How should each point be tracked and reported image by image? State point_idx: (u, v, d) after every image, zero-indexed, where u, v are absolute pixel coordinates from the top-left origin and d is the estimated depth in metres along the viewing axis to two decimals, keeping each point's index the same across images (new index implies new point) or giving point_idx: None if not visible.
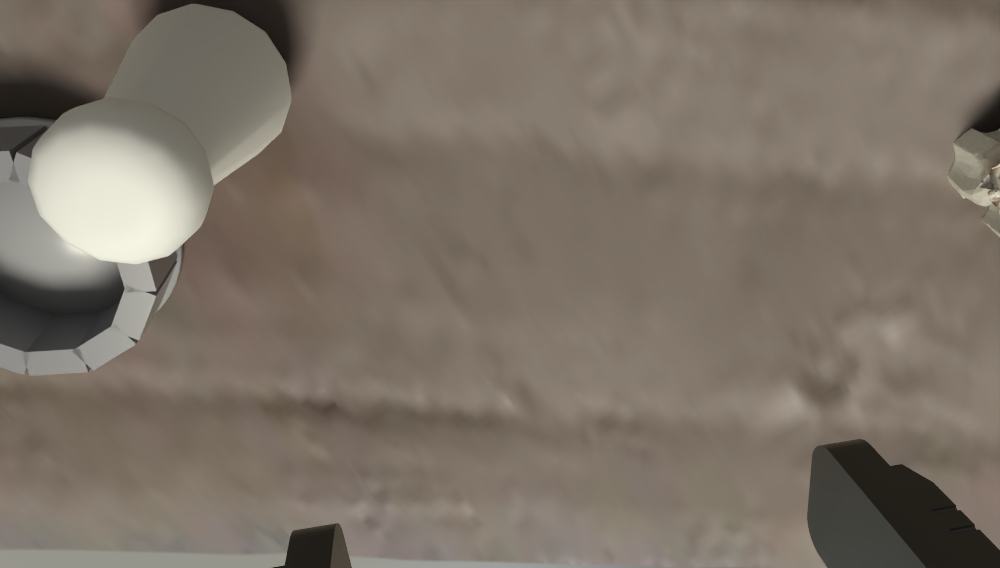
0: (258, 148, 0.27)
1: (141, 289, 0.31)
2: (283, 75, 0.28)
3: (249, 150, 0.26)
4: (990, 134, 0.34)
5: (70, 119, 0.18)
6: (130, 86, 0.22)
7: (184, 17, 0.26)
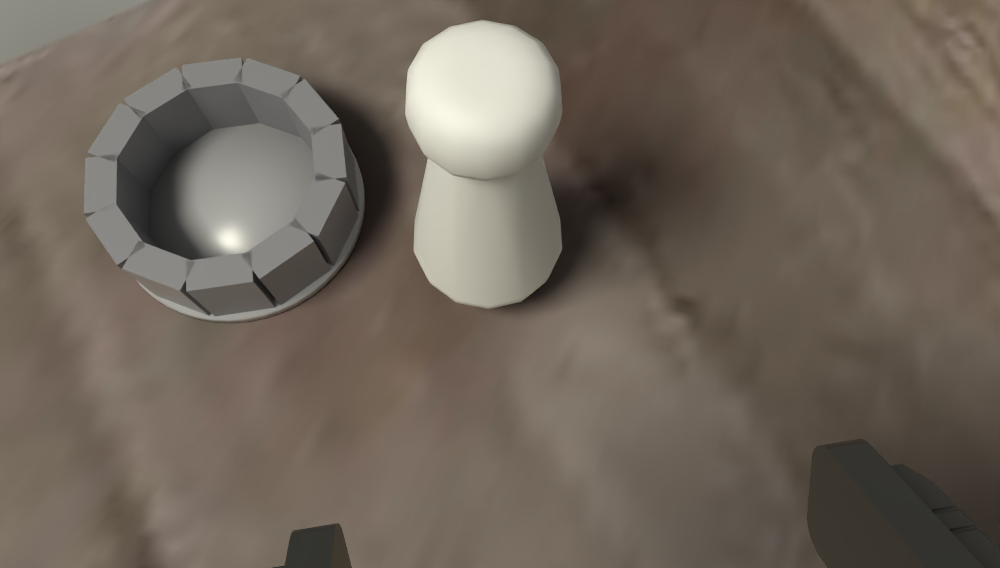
0: (480, 278, 0.27)
1: (253, 266, 0.28)
2: (542, 277, 0.28)
3: (490, 256, 0.25)
4: None
5: (525, 34, 0.21)
6: None
7: None
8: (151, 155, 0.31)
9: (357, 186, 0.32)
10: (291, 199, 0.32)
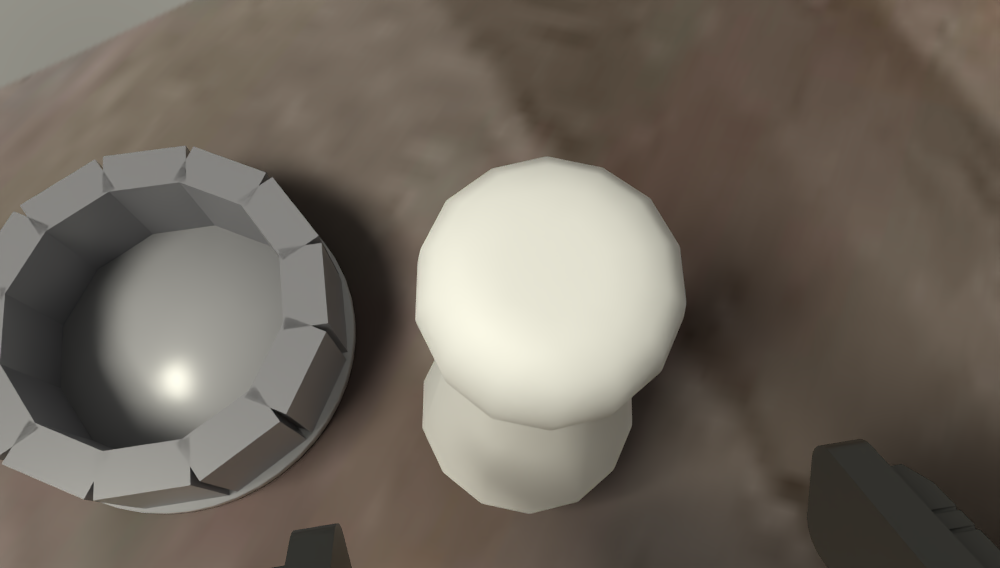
0: (521, 491, 0.18)
1: (191, 460, 0.19)
2: (606, 472, 0.20)
3: (539, 474, 0.17)
4: None
5: (620, 181, 0.12)
6: None
7: None
8: (62, 278, 0.23)
9: (345, 316, 0.24)
10: (255, 335, 0.24)
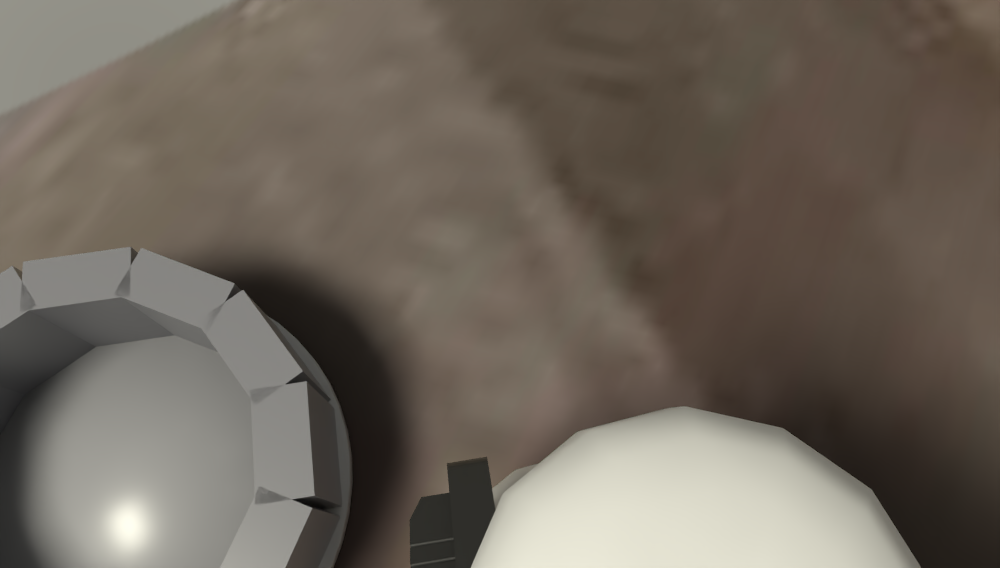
0: None
1: None
2: None
3: None
4: None
5: (811, 450, 0.07)
6: None
7: None
8: None
9: (339, 458, 0.19)
10: (223, 483, 0.18)
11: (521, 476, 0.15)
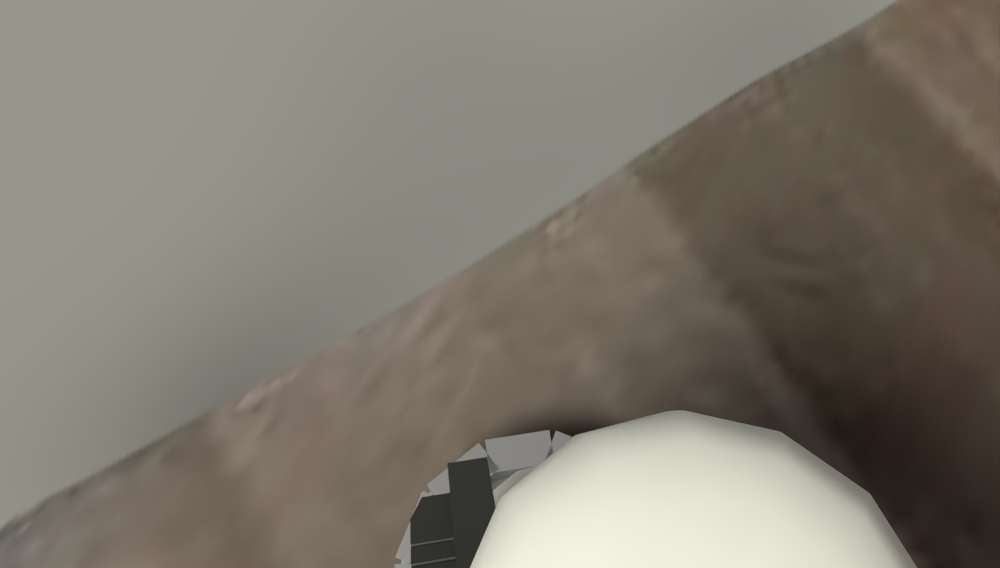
0: None
1: None
2: None
3: None
4: None
5: (809, 453, 0.07)
6: None
7: None
8: None
9: None
10: None
11: (522, 478, 0.15)
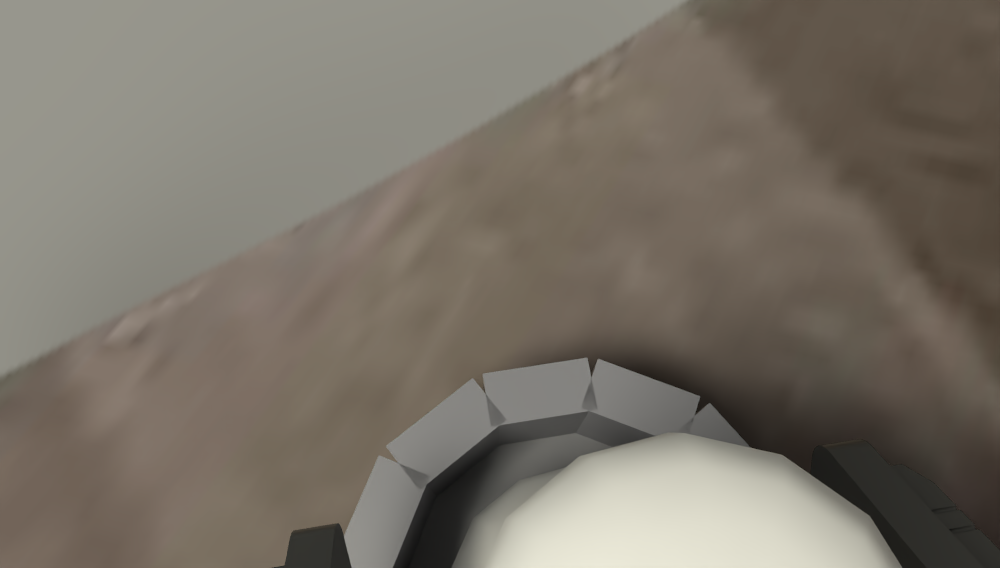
0: None
1: None
2: None
3: None
4: None
5: (810, 476, 0.07)
6: None
7: None
8: (418, 526, 0.18)
9: None
10: None
11: (525, 487, 0.15)
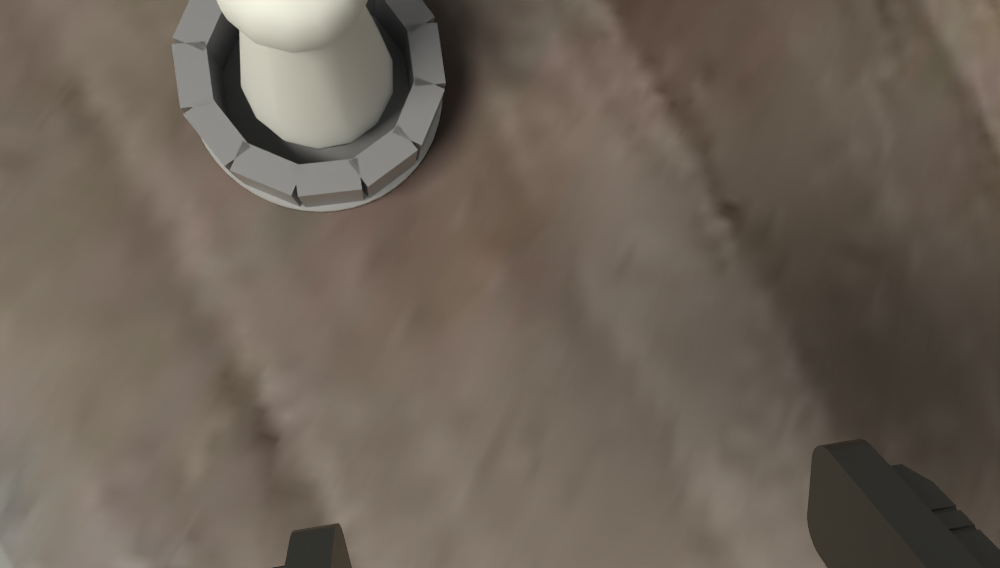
0: (305, 125, 0.27)
1: (361, 173, 0.29)
2: (370, 122, 0.29)
3: (312, 108, 0.26)
4: None
5: None
6: None
7: None
8: (228, 34, 0.30)
9: None
10: None
11: None
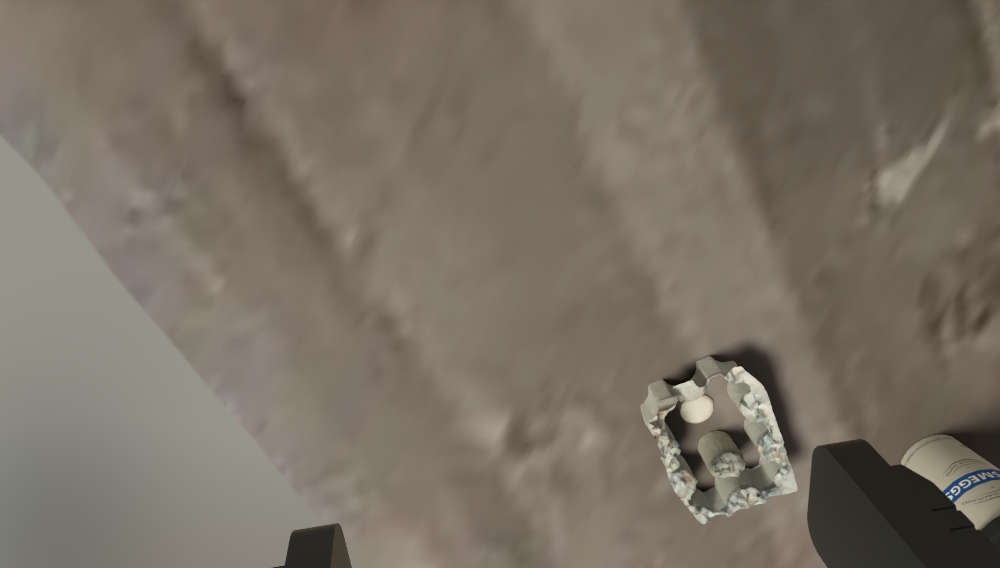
0: None
1: None
2: None
3: None
4: (672, 387, 0.48)
5: None
6: None
7: None
8: None
9: None
10: None
11: None
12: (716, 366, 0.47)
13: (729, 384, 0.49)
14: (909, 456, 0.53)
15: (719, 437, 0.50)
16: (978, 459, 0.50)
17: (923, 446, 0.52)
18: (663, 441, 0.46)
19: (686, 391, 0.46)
